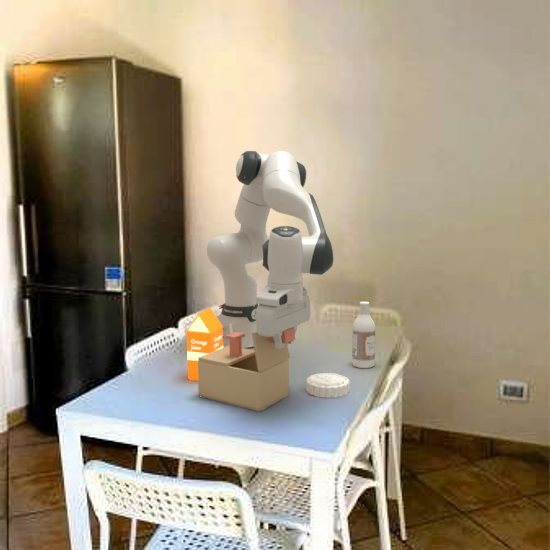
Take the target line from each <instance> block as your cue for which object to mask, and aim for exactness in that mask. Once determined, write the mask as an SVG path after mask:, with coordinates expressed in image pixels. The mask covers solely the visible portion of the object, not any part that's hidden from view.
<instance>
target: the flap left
mask: <svg viewBox="0 0 550 550" xmlns="http://www.w3.org/2000/svg"><path fill="white" fill-rule="evenodd" d="M242 337H245V334H244V333H238V332H235V333H232V334H229V335H227V336H226V339H230V345H229V346H227V347H224V348H221V349H219V350H216V351H214V352H211V353H209V354H206V355H204V356H201V357H199V358H198V360H199V361H203V362H208V363H213V364H217V365H222V366H227V367H228V366H230V365H232V364H235V363H237V362H239V361H242V360H244V359H246V358H248V357H251V356H253V355H255V349H250V348H242Z"/></svg>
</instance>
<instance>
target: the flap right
mask: <svg viewBox="0 0 550 550" xmlns="http://www.w3.org/2000/svg"><path fill="white" fill-rule="evenodd" d="M252 338H253V343H254V348H253V350H255V355H256V361H257V367H258V371H263V370H265V369H267V368H269V367H271V366H273V365H275V364H277V363H279V362H281V361H284V360H286V359H289V358H290V357H291V356H290V352H289V344H287V343H288V342H290V341H292V340H294V341H295V340H296V333H295V334H294V328H290V329H287V330H285V331H283V332H282V336H281V339H282V341H283V343H284V347H283V348H280V349H278V348H276V347H275V341H274V339H273V336H271V337H265V336H260V335H259V334H258V333H257V331H256V332H253V333H252Z"/></svg>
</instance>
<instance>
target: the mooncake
mask: <svg viewBox="0 0 550 550" xmlns="http://www.w3.org/2000/svg"><path fill="white" fill-rule="evenodd" d="M350 382H351V381H350V379H349V378H348V377H347V376H344V375H341V374H338V373H334V372H323V373H321V372H320V373H316V374H311V375H310V376H308V377H307V378H306V381H305V390H306V393H309V395H311V396H314V397H319V398H326V399H330V398H333V399H334V398H336V399H337V398H340V397H343V396H346V395H347V394H349V393H350V391H351V390H350V389H351V387H350V385H351V383H350Z"/></svg>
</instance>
